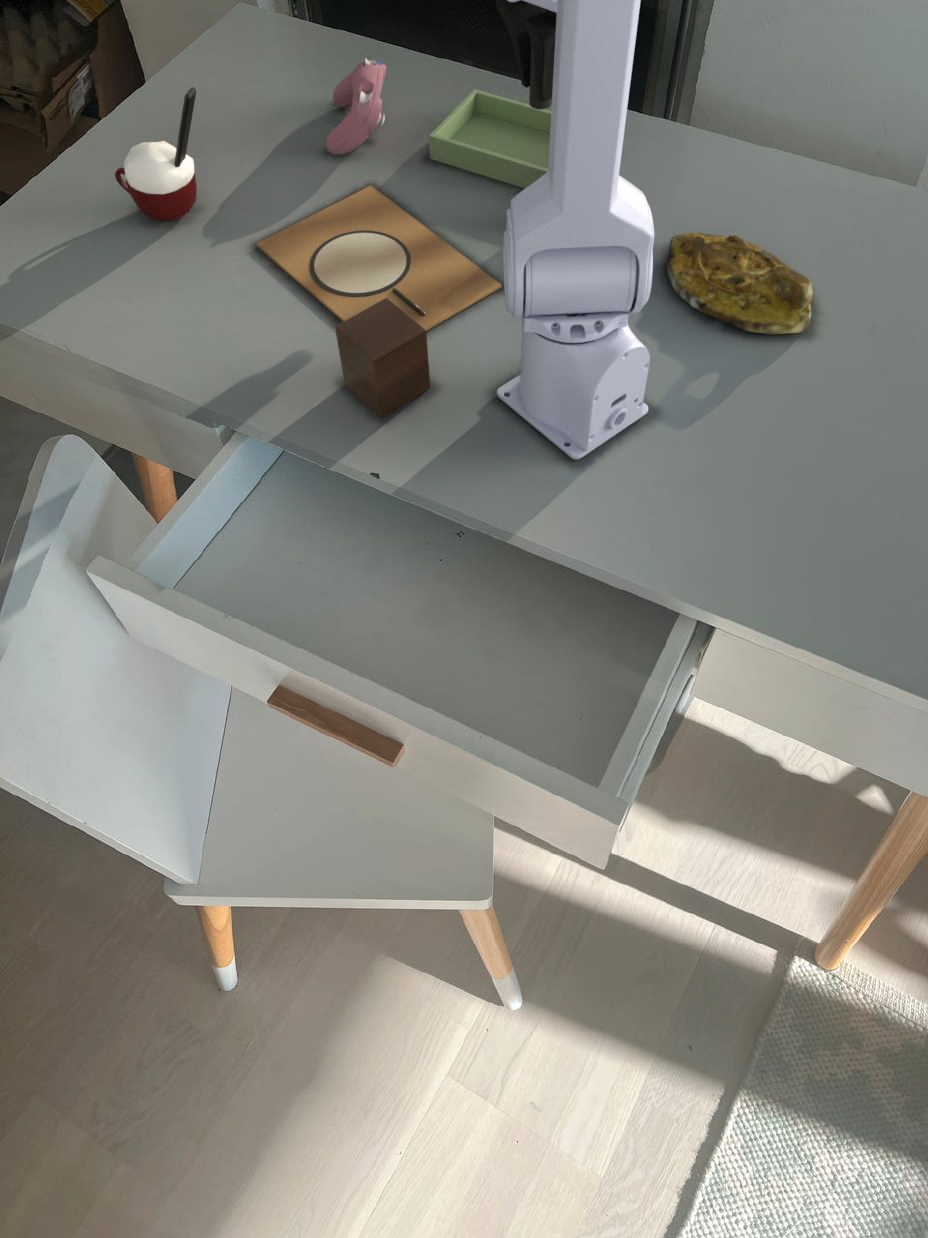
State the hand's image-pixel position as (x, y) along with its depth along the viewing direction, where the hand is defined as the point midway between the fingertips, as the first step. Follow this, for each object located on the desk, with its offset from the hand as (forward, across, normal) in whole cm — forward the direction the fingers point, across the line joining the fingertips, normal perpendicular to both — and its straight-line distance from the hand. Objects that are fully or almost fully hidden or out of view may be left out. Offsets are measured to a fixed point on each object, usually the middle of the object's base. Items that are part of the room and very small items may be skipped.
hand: (541, 89), depth 87 cm
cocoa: (+10, -16, -30) cm, 36 cm away
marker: (+1, 0, 0) cm, 1 cm away
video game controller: (+10, -18, -9) cm, 22 cm away
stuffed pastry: (+10, +22, +6) cm, 24 cm away
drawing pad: (+9, +1, -18) cm, 21 cm away
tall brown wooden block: (+9, +15, -25) cm, 31 cm away
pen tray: (+9, -5, +1) cm, 11 cm away
